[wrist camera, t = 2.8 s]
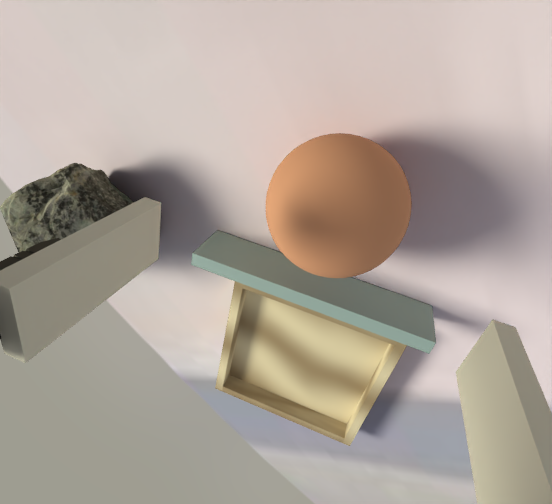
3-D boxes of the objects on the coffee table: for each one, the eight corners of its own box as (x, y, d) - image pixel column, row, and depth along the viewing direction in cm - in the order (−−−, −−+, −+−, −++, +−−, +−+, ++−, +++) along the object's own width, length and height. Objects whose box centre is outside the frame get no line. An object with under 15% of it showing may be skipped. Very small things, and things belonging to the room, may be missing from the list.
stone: (45, 334, 24) (-28, 193, 20) (41, 275, 32) (-12, 163, 27) (180, 283, 28) (147, 156, 24) (148, 241, 36) (118, 139, 31)
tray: (245, 265, 29) (235, 278, 28) (408, 324, 27) (408, 342, 25) (224, 373, 36) (215, 388, 34) (352, 426, 34) (349, 446, 32)
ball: (303, 107, 22) (259, 128, 16) (432, 143, 21) (445, 184, 14) (277, 220, 26) (233, 275, 20) (383, 256, 25) (375, 328, 18)
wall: (217, 230, 28) (192, 253, 25) (432, 305, 26) (436, 342, 22) (216, 240, 29) (191, 264, 26) (426, 315, 26) (429, 353, 23)
